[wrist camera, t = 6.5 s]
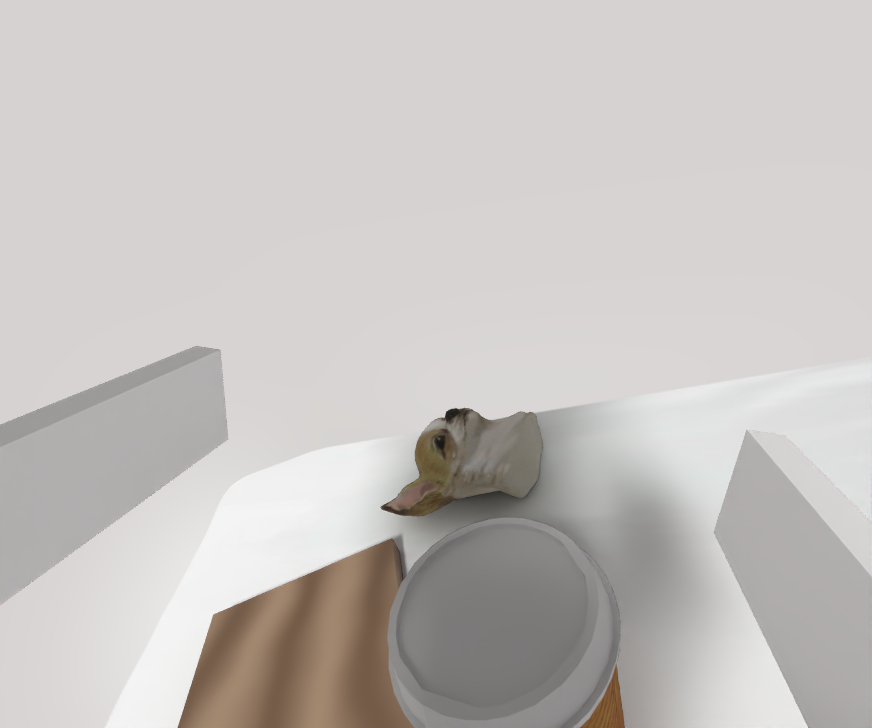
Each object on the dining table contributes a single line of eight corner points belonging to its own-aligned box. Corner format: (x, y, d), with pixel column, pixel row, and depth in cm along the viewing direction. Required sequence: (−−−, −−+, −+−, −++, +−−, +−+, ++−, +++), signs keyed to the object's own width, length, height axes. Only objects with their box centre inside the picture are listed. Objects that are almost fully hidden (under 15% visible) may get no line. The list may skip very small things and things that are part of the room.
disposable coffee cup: (437, 753, 26) (341, 611, 21) (557, 627, 29) (498, 482, 25) (572, 971, 18) (466, 821, 13) (713, 761, 21) (670, 585, 17)
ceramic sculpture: (514, 439, 33) (346, 463, 40) (553, 529, 36) (392, 537, 43) (537, 362, 41) (396, 393, 48) (567, 441, 45) (431, 459, 52)
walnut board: (399, 550, 40) (392, 538, 39) (426, 767, 25) (416, 752, 25) (223, 626, 40) (213, 614, 39) (148, 888, 25) (131, 876, 25)
